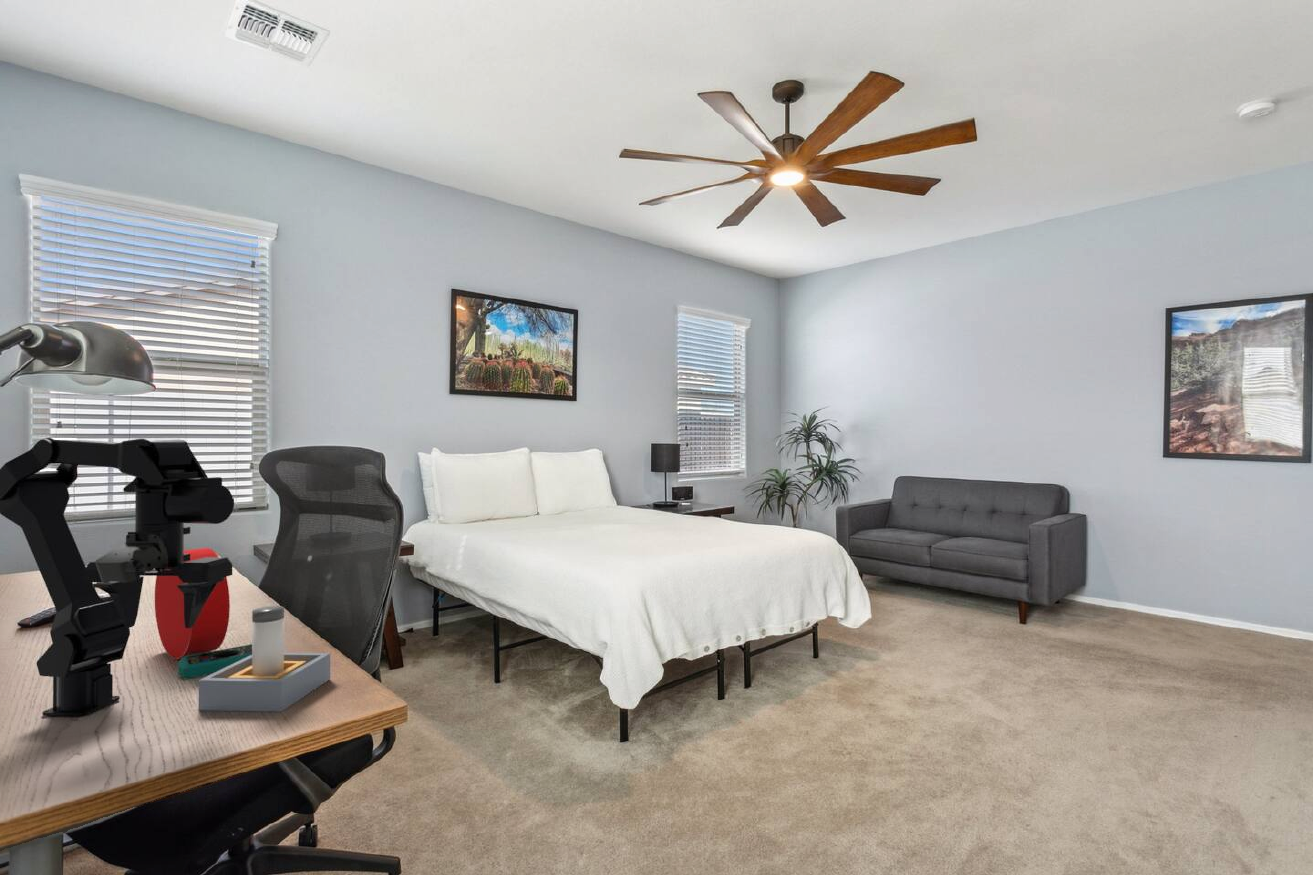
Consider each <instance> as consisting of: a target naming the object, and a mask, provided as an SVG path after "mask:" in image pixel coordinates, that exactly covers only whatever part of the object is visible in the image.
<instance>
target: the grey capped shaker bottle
mask: <svg viewBox="0 0 1313 875" xmlns="http://www.w3.org/2000/svg"><path fill="white" fill-rule="evenodd" d="M251 614H252V615H251V618H252V620H251V624H252V626H251V627H252V629H251V632H252V633H251V644H252V676H275V675H277V674H278V673H280V672H282V671H284V653H285V607H284V606H281V605H269V606H262V607H258V608H255V609H253V610H252V611H251Z"/></svg>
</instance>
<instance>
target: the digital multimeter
mask: <svg viewBox="0 0 1313 875" xmlns="http://www.w3.org/2000/svg"><path fill="white" fill-rule="evenodd" d="M250 655H252V643H250V644H246V645H241V646H236V647H235V646H234V647H230V648H223V649H218V650H217V649H216V650H214V651H210V652H205V653H199V654H193V655H187V656H184V657H183V658H180V660H179V661H178V664H177V674H178V676H179V677H180V678H182V679H184V680H188V679H189V680H190V679H193V678H194V679H195V678H198V677H205V676H209V675H211V674H213V673H215V672H217V671H219V670H221V669H223V668H225V667H227V666H229V665H231V664H233V663H236V662H238V661H240V660H242V659H244V658H246V657H248V656H250Z"/></svg>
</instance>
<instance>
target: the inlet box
mask: <svg viewBox="0 0 1313 875" xmlns="http://www.w3.org/2000/svg"><path fill="white" fill-rule="evenodd" d="M328 680H329V681H331V653H330V652H328V653H327V652H323V653H322V652H284V671H282V672H280V673H278V674H277V675H275V676H252V655H250V656H248V657H246V658H244V659H242V660H240V661H238V662H236V663H233V664H231V665H229V666H227V667H225V668H223V669H221V670H219V671H217V672H215V673H213V674H209V675H206V676H203V678H201V679H199V680H198V708H197V709H198V711H227V712H228V711H230V712H233V711H234V712H238V711H239V712H280V713H281V712H284V711H285V710H286V709H288V708H289V707H291V706H293V705H294V704H296V703H297V702H298V701H300V700H302V699H303V698H305V697H306V696H307V695H306V694H308V693H309V694H310V692H311V691H312V690H314V689H315V688H317V687H318V686H320V685H321V684H322V683H324V684H325V682H326V681H328ZM329 681H328V682H329ZM326 683H327V682H326ZM321 686H322V685H321ZM321 686H320V687H321ZM318 688H319V687H318ZM318 688H317V689H318ZM315 690H316V689H315ZM315 690H314V691H315ZM312 692H313V691H312ZM312 692H311V693H312ZM309 694H308V695H309ZM305 695H306V696H305ZM304 696H305V697H304ZM302 697H303V698H302ZM301 698H302V699H301ZM292 704H293V705H292Z"/></svg>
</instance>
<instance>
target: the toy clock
mask: <svg viewBox="0 0 1313 875" xmlns="http://www.w3.org/2000/svg"><path fill="white" fill-rule="evenodd" d="M184 554H190V560H189V561H193V560H197V559H201V558H205V557H219V556H218V554H217V552H216V551H214V550H213V549H212V548H210V547H202V548H194V549H186V550H185V549H184ZM185 562H188V561H185ZM183 563H184V562H183ZM165 570H171V569H165ZM181 584H184V583H183V582H182V581H181V580H180V579H179V577H178V576H156V577H155V585H154V612H155V613H154V614H155V621H156V626H157V632H158V635H159V638H160V641H161V644H162V646H163V648H164V650H165V652H166V654H167V655H168V656H169V657H171V659H175V660H179V659H180V660H181V659H182V658H183V657H184V656H187V655H193V654H199V653H205V652H211V651H217V649H218V650H219V648H220V647H221V646H222V645H223V643H224V640H225V638H226V636H227V632H228V627H229V621H230V609H231V608H230V606H231V605H230V604H231V603H230V591H229V584H228V577H224V581H221V582H218V583H217V585H216V586H215V588H214V590H213V591H212V593H211V594H210V596H209V597H208V599H207V601H206V603H205V605H204V607H203V609H202V610H201V612H200V614H199V616H198V618H197V620H196V622H195V624H194V626H193V627H191V628H185V622H184V594H183V593H182V592H181V590H180V589H179V588H178V587H177V585H181Z"/></svg>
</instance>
